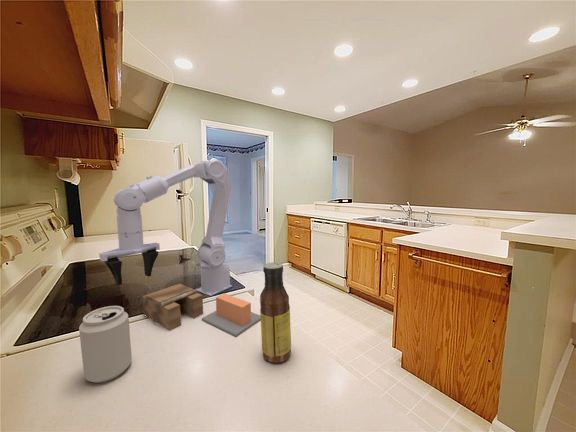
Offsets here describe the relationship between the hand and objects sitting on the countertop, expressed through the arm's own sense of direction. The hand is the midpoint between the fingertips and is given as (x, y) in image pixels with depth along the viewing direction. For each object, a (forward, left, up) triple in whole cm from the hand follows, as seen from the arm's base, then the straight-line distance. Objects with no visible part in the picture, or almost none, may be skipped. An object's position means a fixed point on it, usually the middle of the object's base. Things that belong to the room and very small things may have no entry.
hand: (134, 279), depth 69 cm
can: (+14, +20, -10) cm, 26 cm away
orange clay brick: (-12, +26, -9) cm, 30 cm away
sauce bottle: (-8, +44, -10) cm, 46 cm away
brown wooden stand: (-5, +11, -9) cm, 15 cm away
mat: (-12, +26, -9) cm, 30 cm away
